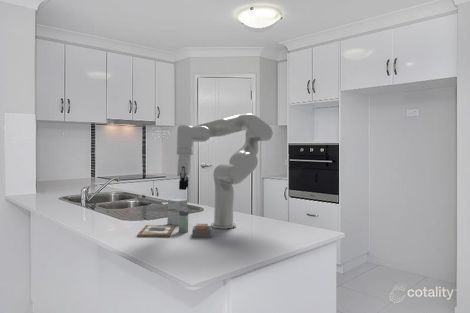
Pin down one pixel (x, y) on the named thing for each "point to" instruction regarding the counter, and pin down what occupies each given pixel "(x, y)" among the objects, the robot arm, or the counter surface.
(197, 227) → the button
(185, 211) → the cylinder
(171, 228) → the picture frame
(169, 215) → the supplement box
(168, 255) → the counter surface
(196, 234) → the button housing
